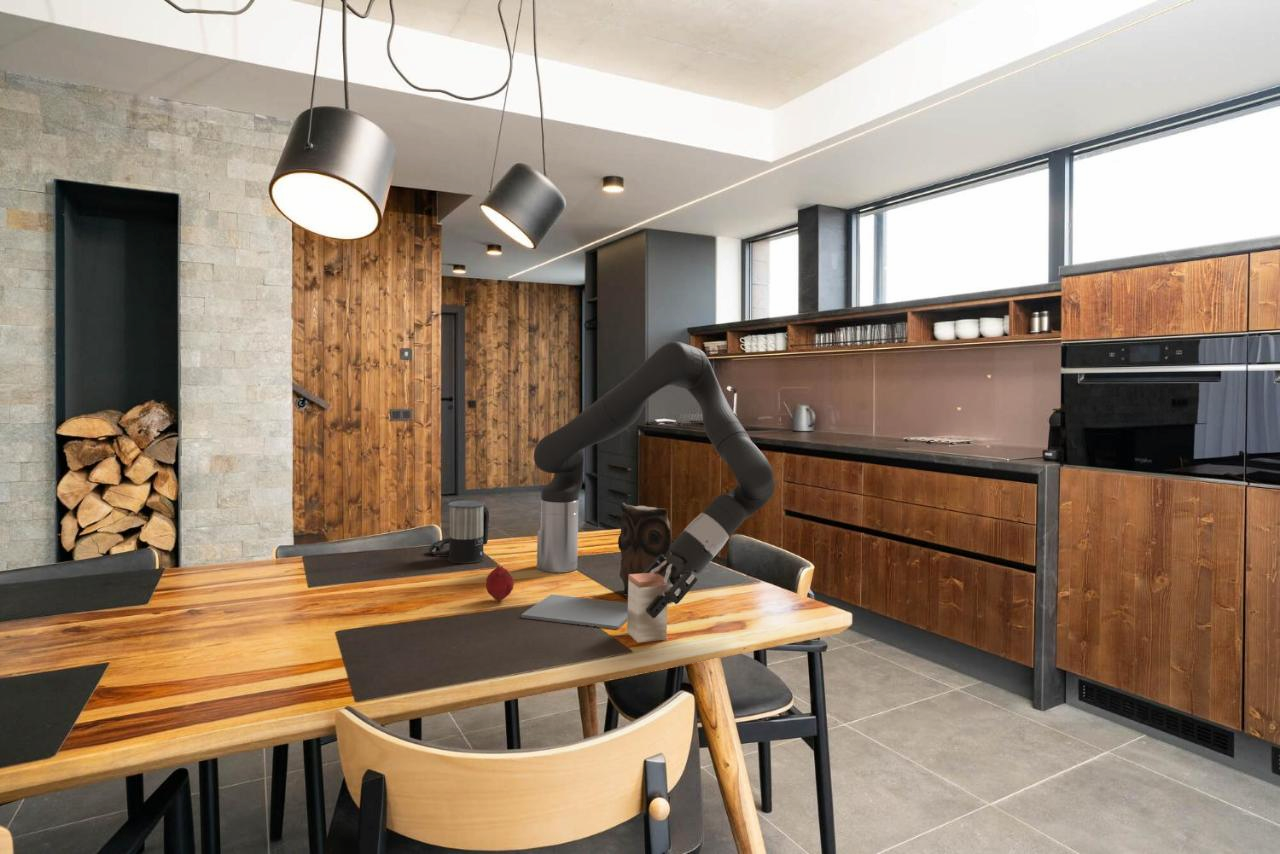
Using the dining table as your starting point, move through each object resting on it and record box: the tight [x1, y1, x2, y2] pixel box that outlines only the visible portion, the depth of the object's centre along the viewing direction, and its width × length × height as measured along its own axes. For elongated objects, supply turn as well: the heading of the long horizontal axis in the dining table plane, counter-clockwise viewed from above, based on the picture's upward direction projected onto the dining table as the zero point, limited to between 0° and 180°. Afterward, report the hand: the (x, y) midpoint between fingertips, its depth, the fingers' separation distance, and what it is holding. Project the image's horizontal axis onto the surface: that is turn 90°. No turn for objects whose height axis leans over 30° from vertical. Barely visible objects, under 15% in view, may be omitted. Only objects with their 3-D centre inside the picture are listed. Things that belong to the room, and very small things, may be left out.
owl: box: [617, 502, 673, 597], centre depth 163 cm, size 13×13×20 cm
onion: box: [484, 562, 515, 602], centre depth 156 cm, size 6×6×8 cm
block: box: [626, 573, 668, 643], centre depth 137 cm, size 6×6×11 cm
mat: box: [520, 594, 628, 630], centre depth 150 cm, size 20×15×1 cm
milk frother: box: [428, 500, 490, 564], centre depth 194 cm, size 14×16×15 cm
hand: (640, 607), depth 136 cm, fingers open, 8 cm apart
